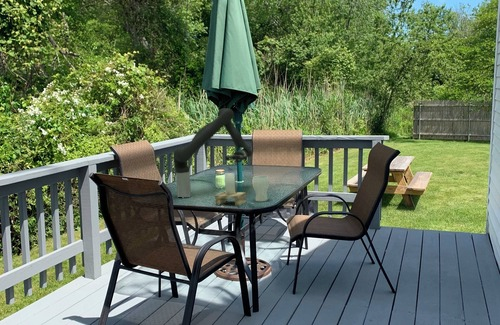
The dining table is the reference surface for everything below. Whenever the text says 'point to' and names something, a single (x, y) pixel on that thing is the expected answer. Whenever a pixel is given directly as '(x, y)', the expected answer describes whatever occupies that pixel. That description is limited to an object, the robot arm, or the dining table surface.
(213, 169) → the dining table surface
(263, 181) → the cup
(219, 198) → the shelf stand
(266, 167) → the dining table surface
